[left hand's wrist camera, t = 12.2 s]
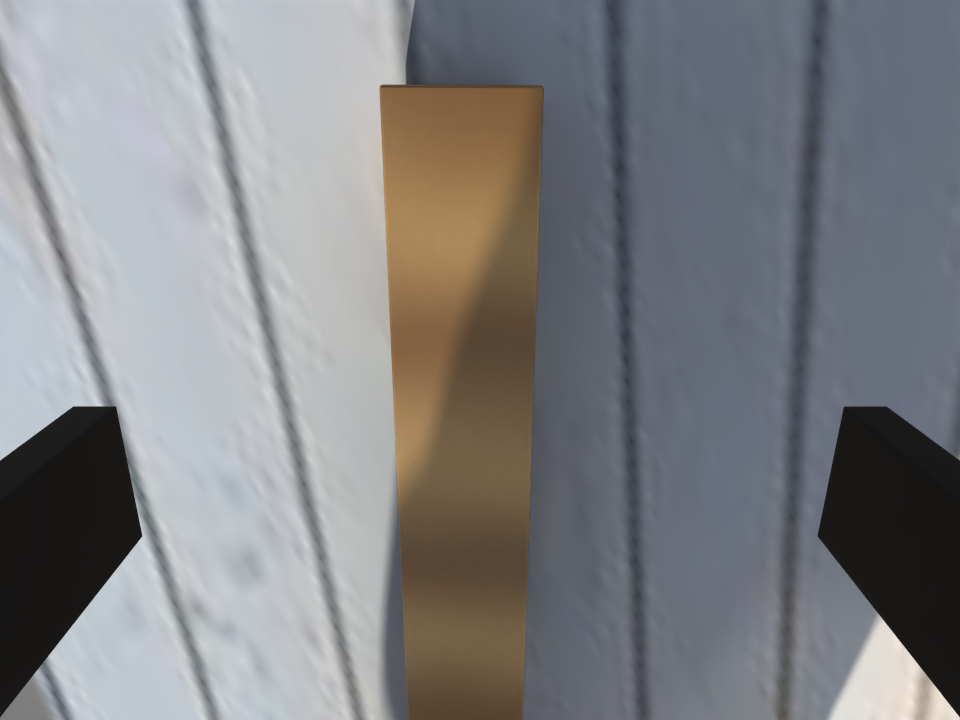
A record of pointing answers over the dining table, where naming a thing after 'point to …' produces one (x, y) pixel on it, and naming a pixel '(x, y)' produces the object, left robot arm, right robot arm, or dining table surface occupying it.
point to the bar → (463, 383)
